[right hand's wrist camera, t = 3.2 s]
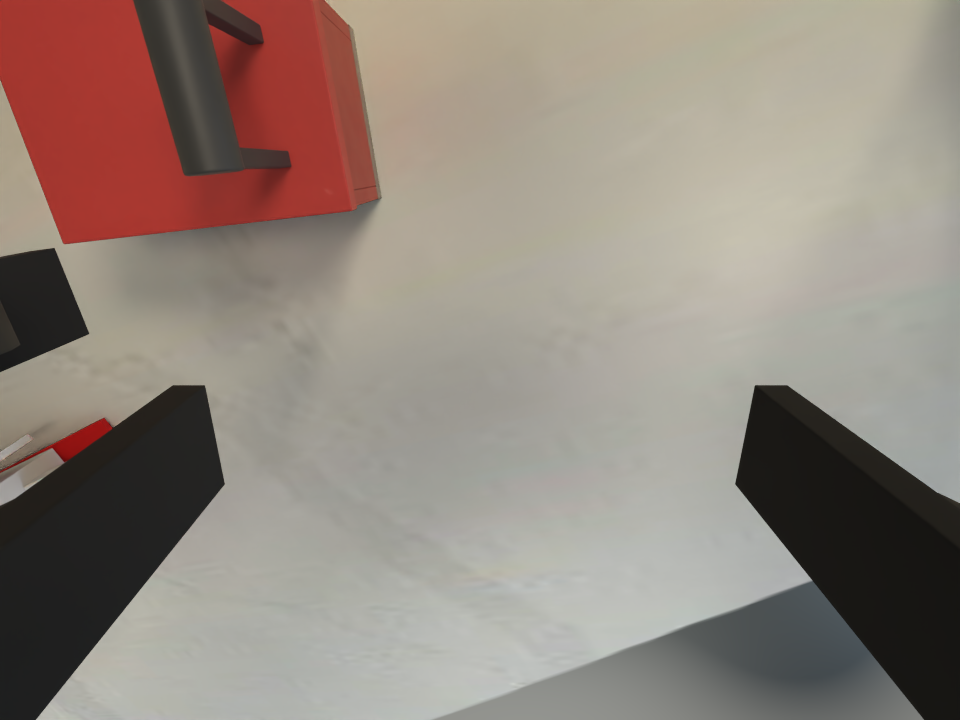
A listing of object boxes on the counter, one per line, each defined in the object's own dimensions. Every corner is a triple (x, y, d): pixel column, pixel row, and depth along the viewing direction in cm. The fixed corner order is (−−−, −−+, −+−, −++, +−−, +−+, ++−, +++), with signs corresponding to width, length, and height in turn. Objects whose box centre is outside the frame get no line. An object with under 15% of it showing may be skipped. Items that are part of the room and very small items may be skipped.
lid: (312, -37, 22) (210, -157, 14) (357, 209, 26) (298, 229, 18) (-7, 7, 23) (-287, -83, 15) (80, 241, 26) (-106, 276, 18)
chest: (352, 29, 33) (293, -34, 22) (381, 198, 36) (341, 211, 26) (144, 56, 33) (-7, 7, 23) (193, 220, 37) (80, 241, 27)
